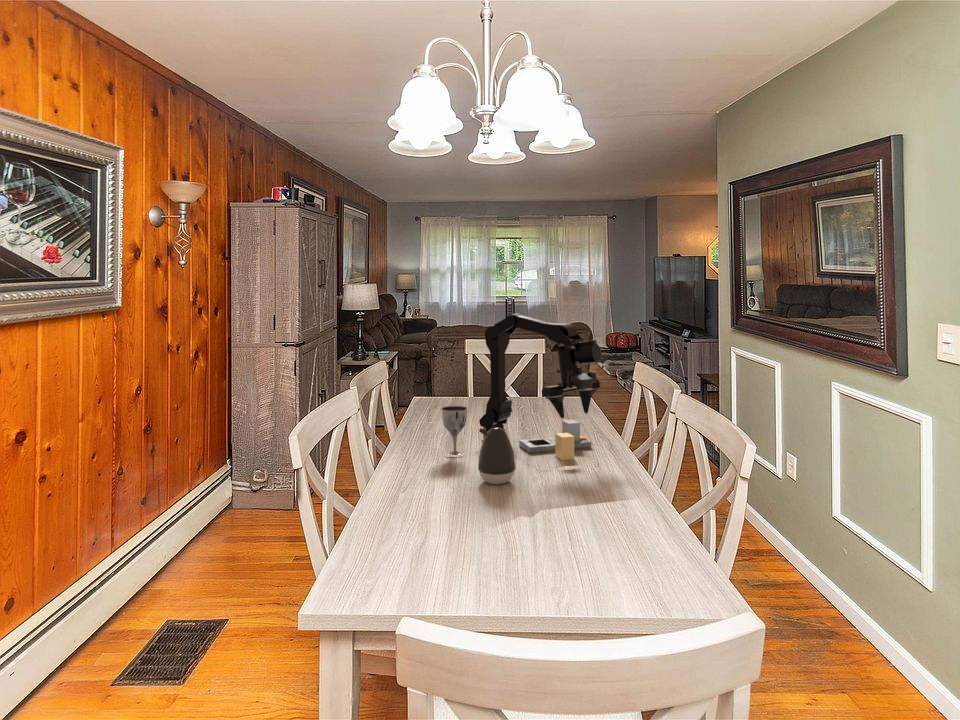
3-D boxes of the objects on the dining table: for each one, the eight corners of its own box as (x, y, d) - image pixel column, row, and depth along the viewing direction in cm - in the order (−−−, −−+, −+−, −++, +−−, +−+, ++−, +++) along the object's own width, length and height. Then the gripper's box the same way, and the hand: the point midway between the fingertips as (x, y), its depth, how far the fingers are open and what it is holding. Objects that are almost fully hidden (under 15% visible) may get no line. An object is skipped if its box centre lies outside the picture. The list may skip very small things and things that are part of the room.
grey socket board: (529, 456, 207) (529, 445, 206) (519, 449, 216) (519, 438, 215) (591, 451, 213) (591, 440, 212) (578, 443, 222) (578, 433, 221)
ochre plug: (561, 463, 199) (562, 437, 198) (555, 459, 204) (555, 433, 203) (574, 462, 200) (574, 436, 199) (567, 458, 205) (567, 432, 204)
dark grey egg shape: (489, 474, 190) (488, 421, 188) (521, 479, 184) (521, 425, 182) (470, 483, 181) (470, 429, 179) (504, 489, 176) (504, 433, 174)
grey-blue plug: (568, 448, 213) (568, 423, 212) (562, 444, 217) (562, 420, 216) (579, 447, 214) (580, 422, 213) (573, 443, 219) (573, 419, 218)
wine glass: (455, 450, 216) (455, 404, 214) (472, 454, 210) (472, 407, 208) (437, 455, 210) (436, 408, 208) (454, 459, 204) (453, 411, 202)
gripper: (560, 368, 191) (566, 422, 192) (609, 360, 201) (615, 411, 201) (537, 369, 201) (544, 420, 202) (585, 361, 210) (591, 410, 211)
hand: (574, 415), depth 204 cm, fingers open, 9 cm apart
